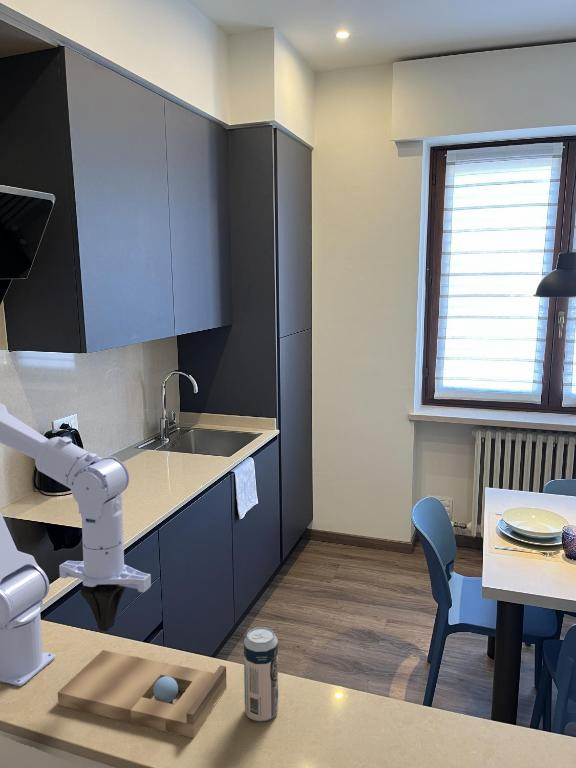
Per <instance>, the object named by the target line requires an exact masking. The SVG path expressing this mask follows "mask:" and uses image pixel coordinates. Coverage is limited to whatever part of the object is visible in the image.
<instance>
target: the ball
mask: <svg viewBox="0 0 576 768" xmlns="http://www.w3.org/2000/svg"><path fill="white" fill-rule="evenodd" d="M178 692H179V690H178V685H177V682H176V681H175V680H174V679H173V678H172V677H169V676H165V677H162V678H160V679H159V680H158V681H157V682H156V683H155V685H154V688H153V695H154V696H153V698H154V700H156V701H161V702H165V703H170V704H171V702H173V701H174V700H175V698H176V697H177V696H178Z"/></svg>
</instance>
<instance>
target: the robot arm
mask: <svg viewBox="0 0 576 768" xmlns="http://www.w3.org/2000/svg"><path fill="white" fill-rule="evenodd" d="M72 440H73V439H72V438H70V437H67V436H63V437H61V436H55V437H51V438H47V437H46V436H45V435H42V434H41V433H40V432H38V431H37V430H35V429H34V428H32V427H31V426H29V425H28V424H26V423H24V422H23V421H21V420H20V419H18V418H17V417H15V416H14V415H12V414H11V413H9V412H8V409H7V406H6V405H5V404H3V403H0V444H2V445H4V446H6V447H9V448H10V449H13V450H15V451H17V452H19V453H21V454H24V455H25V456H26V457H30V458H31V459H34V465H35V467H36V469H37V471H38V472H40V473H42V474H44V475H46V477H47V476H48V477H49V478H51V479H53V480H54V481H56V482H58V483H59V484H61V485H63V486H65V487H67V488H69V489H70V492H71V495H72V497H73V498H74V501H76V503H77V506H78V514H79V515H80V518H81V533H82V534H81V535H82V536H81V537H82V558H83V559H82V560H81V561H80V560H66V561H65V562H63V563H61V564H60V565H59V578H61V579H67V578H74V579H79V580H81V581H82V585H83V586H82V587H81V588H80V595H81V596H82V597H83V598H84V600H85V602H87V604H88V606H89V608H90V609H91V611H92V614H93V617H94V619H95V623H96V624H97V628H98V631H101V632H108V631H109V630H110V629H111V628H112V627H114V625H115V622H116V615H117V612H118V608H119V605H120V602H121V600H122V596H123V595H124V593H125V590H126V589H127V588H130V589H137V592H139V593H145V592H147V591H148V590H149V588H151V586H152V578H151V577H152V576H151V573H146V572H142V571H140V570H138V569H135V568H133V567H131V566H129V565H127V564H125V554H124V553H125V550H124V523H123V521H124V520H123V495H122V493H123V492H124V491H126V489H127V487H128V486H129V482H130V474H129V471H128V468H127V467H126V466H125V464H124V463H123V462H122V461H120V460H119V459H118V458H117V457H115V456H106V457H100V456H98V454H97V453H94V452H89V451H87V450H85V449H83V448H82V447H80V446H78V445H76V444H74V443H73V441H72ZM49 592H50V581H49V578H48V576H47V574H46V573H45V571H44V570H43V569H42V568H41V567H40V566H39V565H38V563H37V561H36V559H35V557H34V556H33V555H31V554H29V553H25V552H22V551H19V550H18V549H17V546H16V545H15V542H14V540H13V537H12V535H11V533H10V530H9V529H8V526H7V523H6V521H5V519H4V516H3V515H2V511H0V682H2V683H6V684H9V685H14V686H18V687H21V686H23V685H25V684H26V683H27V682H28V681H30V680H31V679H32V678H33V677H34V676H36V674H38V673H39V672H40V671H41V670H42V669H44V668H45V667H46V666H48V664H49V663H51V662H52V661H53V660H54V659H55V658H56V654H55V653H50V652H45V651H43V650H44V649H43V635H42V623H41V622H42V619H41V609H42V608H43V607H44V606H43V602H44V601H43V600H44V599H45V598H46V597H48V596H47V595H48V594H49Z"/></svg>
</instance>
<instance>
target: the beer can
mask: <svg viewBox="0 0 576 768" xmlns="http://www.w3.org/2000/svg"><path fill="white" fill-rule="evenodd" d="M278 643H279V640H278V638H277V636H276V634H275V632H274V631H273V629H271V628H268V627H265V626H263V627H254V628H253V629H250V630H249V631H248V633H246V637H245V638H244V640H243V666H244V667H243V668H244V669H243V671H244V672H243V676H244V678H243V679H244V680H243V683H244V685H243V686H244V712H245V715H246V716H247V717H248V718H249V719H251V720H253V721H255V722H264V721H269V720H271V719H273V718H274V717H276V715H277V713H278V711H279V657H278V656H279V654H278V653H279V644H278Z"/></svg>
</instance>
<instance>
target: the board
mask: <svg viewBox="0 0 576 768" xmlns="http://www.w3.org/2000/svg"><path fill="white" fill-rule="evenodd" d="M165 676H169V677H172V678H173V679H174V680H175V681H176V682H177V685H178V691H179V690H181V691H180V692H183V693H182V695H181V696H180V698H179V699H178V700H177V701H176V702H175V704H173V703H171V702H170V703H165V702H161V701H157V700H156V699H153V698H154V695H153V688H154V685H155V683H156V682H157V681H158V680H159V679H160V678H162V677H165ZM227 684H228V683H227V666H226V665H221V664H220V665H219V666H218V667H217V669H216V671H214V672H210V671H207V670H201V669H197V668H191V667H187V666H182V665H176V664H172V663H167V662H163V661H158V660H153V659H149V658H148V659H147V658H143V657H139V656H138V657H137V656H133V655H129V654H123V653H119V652H114V651H110V650H104V649H102V650H101V651H100V652H99V653H98V654H97V655H96V656H95V657H94V658H93V659H92V660H91V661H89V662H88V664H86V665H85V666H84V667H83V668H82V669H81V670H80V671H79V672H78V673H77V674H75V675H74V677H73V678H71V679H70V680H69V681H68V682H67V683H66V684H65V685H64V686H63V687H62V688H61V689H59V690H58V691H57V703H58V704H57V705H58V706H61V707H66V708H68V709H69V708H70V709H74V710H78V711H82V712H86V713H88V714H89V713H90V714H94V715H99V716H102V717H107V718H110V719H114V720H118V721H123V722H127V723H129V724H130V723H131V724H136V725H139V726H143V727H146V728H149V729H150V728H151V729H154V730H159V731H161V732H166V733H171V734H175V735H180V736H184V737H187V738H190V739H191V738H192V739H195V737H196V736H197V734H198V733H199V731H200V730H201V728H202V727H203V724H204V723H205V722H206V720H207V719H208V717H209V716H208V714H209V713H210V714H211V712H212V711H213V709H214V708H215V706H214V704H215V703H216V702H217V700H218V699H219V697H220V696H221V697H222V695H223V694H224V692H225V691H226V689H227V688H226V687H228V686H227ZM225 688H226V689H225ZM224 690H225V691H224ZM184 691H185V692H184ZM222 693H223V694H222ZM221 697H220V698H221ZM219 700H220V699H219ZM219 700H218V701H219ZM217 703H218V702H217ZM217 703H216V704H217ZM213 707H214V708H213ZM212 708H213V709H212ZM211 710H212V711H211ZM210 714H209V715H210ZM207 716H208V717H207ZM206 718H207V719H206Z"/></svg>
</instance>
